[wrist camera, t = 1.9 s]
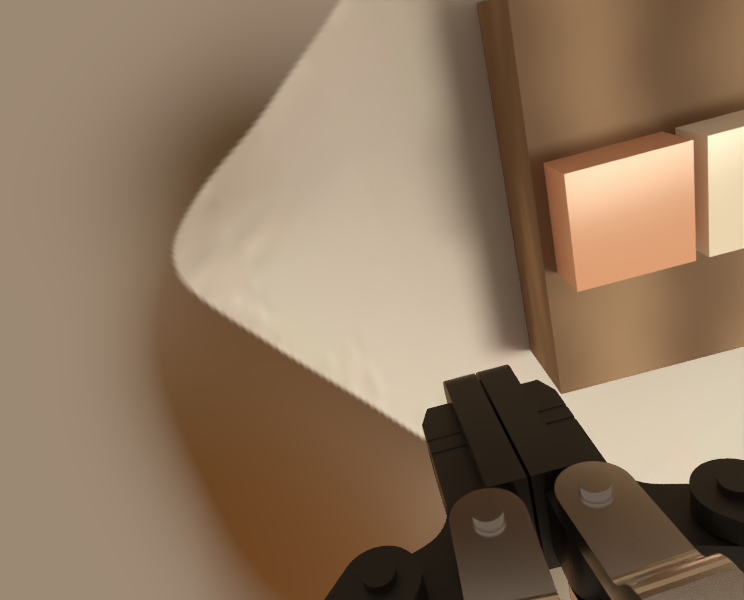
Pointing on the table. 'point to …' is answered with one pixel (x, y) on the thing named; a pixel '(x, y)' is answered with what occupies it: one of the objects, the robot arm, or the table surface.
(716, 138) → the tile
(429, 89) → the table surface
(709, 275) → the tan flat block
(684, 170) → the tile
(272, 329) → the table surface
